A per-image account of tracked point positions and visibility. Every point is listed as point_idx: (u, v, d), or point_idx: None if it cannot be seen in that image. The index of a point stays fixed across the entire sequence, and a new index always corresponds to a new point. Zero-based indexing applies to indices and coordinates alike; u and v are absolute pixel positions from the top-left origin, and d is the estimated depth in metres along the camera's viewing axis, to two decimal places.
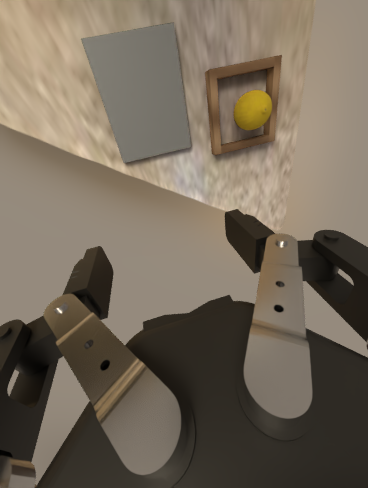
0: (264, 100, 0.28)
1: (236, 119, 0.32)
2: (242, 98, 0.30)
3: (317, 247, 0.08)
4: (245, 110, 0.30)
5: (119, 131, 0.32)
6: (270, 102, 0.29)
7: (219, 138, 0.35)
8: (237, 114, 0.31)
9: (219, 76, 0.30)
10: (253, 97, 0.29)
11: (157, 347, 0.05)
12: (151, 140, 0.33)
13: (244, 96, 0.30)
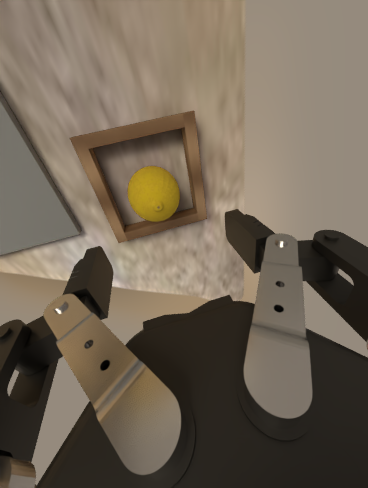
0: (155, 193, 0.17)
1: None
2: (131, 180, 0.19)
3: (317, 247, 0.08)
4: (131, 202, 0.18)
5: None
6: (169, 192, 0.18)
7: (118, 223, 0.23)
8: None
9: (91, 146, 0.18)
10: (139, 186, 0.17)
11: (157, 347, 0.05)
12: (8, 232, 0.22)
13: (133, 178, 0.19)
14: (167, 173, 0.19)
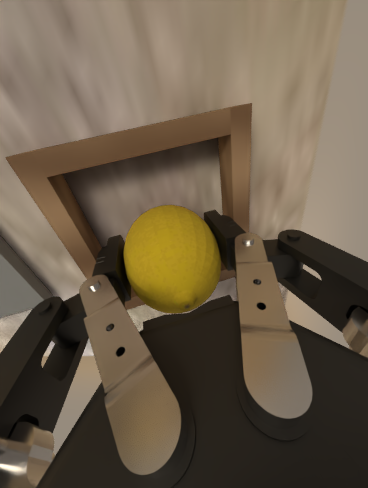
0: (181, 278, 0.08)
1: None
2: (130, 237, 0.10)
3: (283, 247, 0.08)
4: (131, 283, 0.09)
5: None
6: (208, 271, 0.09)
7: None
8: None
9: (53, 172, 0.09)
10: (146, 261, 0.08)
11: (157, 347, 0.05)
12: None
13: (133, 234, 0.10)
14: (200, 224, 0.10)
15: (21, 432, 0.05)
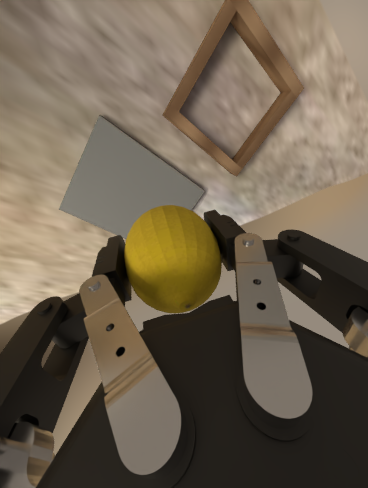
0: (181, 278, 0.08)
1: None
2: (130, 237, 0.10)
3: (283, 247, 0.08)
4: (132, 283, 0.09)
5: None
6: (209, 271, 0.09)
7: (228, 158, 0.25)
8: None
9: (179, 107, 0.21)
10: (147, 261, 0.08)
11: (157, 347, 0.05)
12: None
13: (134, 234, 0.10)
14: (200, 224, 0.10)
15: (21, 432, 0.05)
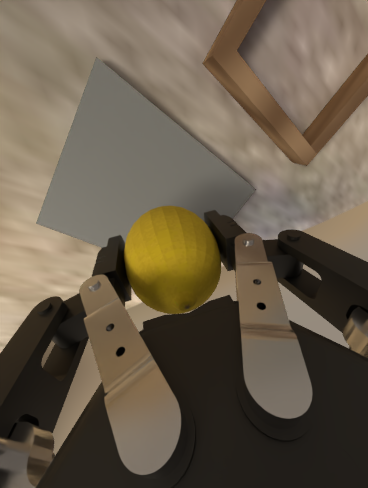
0: (181, 279, 0.08)
1: None
2: (130, 238, 0.10)
3: (283, 247, 0.08)
4: (131, 284, 0.09)
5: None
6: (208, 271, 0.09)
7: (300, 137, 0.16)
8: None
9: (239, 41, 0.12)
10: (146, 262, 0.08)
11: (157, 347, 0.05)
12: None
13: (133, 235, 0.10)
14: (200, 225, 0.10)
15: (21, 432, 0.05)
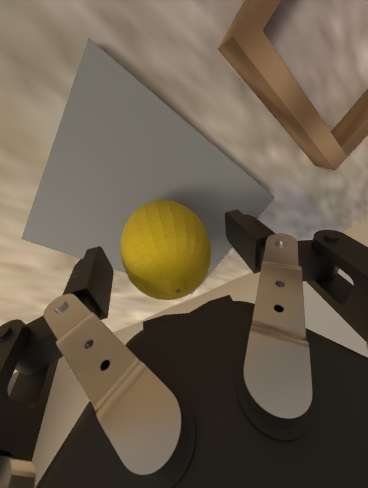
0: (172, 265, 0.09)
1: None
2: (126, 229, 0.11)
3: (317, 247, 0.08)
4: (127, 272, 0.10)
5: None
6: (198, 259, 0.09)
7: (330, 138, 0.14)
8: None
9: (266, 18, 0.10)
10: (140, 250, 0.09)
11: (157, 347, 0.05)
12: None
13: (129, 226, 0.10)
14: (191, 217, 0.10)
15: None
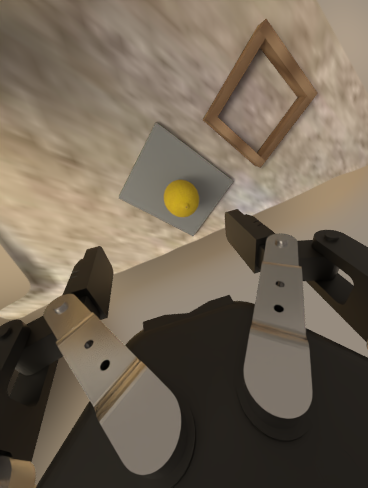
0: (184, 198, 0.26)
1: None
2: (167, 189, 0.28)
3: (317, 247, 0.08)
4: (168, 204, 0.28)
5: (176, 221, 0.36)
6: (193, 197, 0.27)
7: (254, 153, 0.31)
8: None
9: (218, 113, 0.27)
10: (173, 194, 0.27)
11: (157, 347, 0.05)
12: (200, 206, 0.35)
13: (168, 188, 0.28)
14: (191, 184, 0.28)
15: None
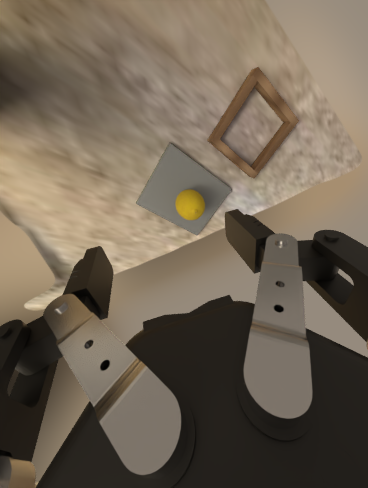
0: (194, 205, 0.33)
1: (177, 210, 0.36)
2: (179, 197, 0.34)
3: (317, 247, 0.08)
4: (180, 209, 0.34)
5: (183, 223, 0.42)
6: (201, 204, 0.33)
7: (249, 167, 0.38)
8: (176, 208, 0.36)
9: (220, 136, 0.34)
10: (185, 201, 0.33)
11: (157, 347, 0.05)
12: (204, 210, 0.42)
13: (180, 196, 0.34)
14: (198, 193, 0.34)
15: None
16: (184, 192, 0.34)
